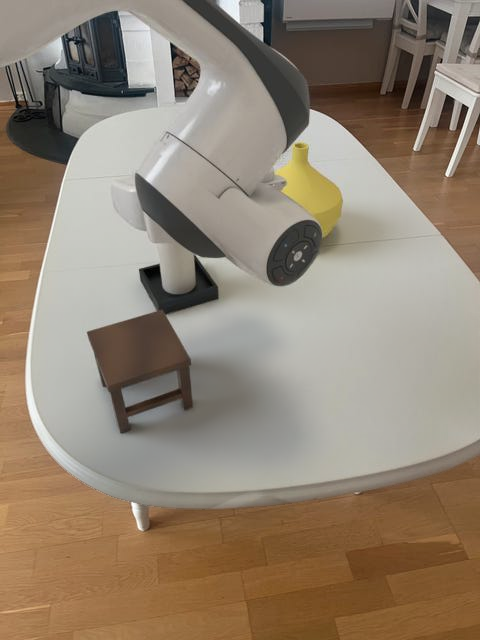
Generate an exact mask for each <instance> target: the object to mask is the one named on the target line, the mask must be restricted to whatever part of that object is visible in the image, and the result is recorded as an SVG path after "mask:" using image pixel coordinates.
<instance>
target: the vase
mask: <svg viewBox="0 0 480 640" xmlns="http://www.w3.org/2000/svg"><path fill="white" fill-rule="evenodd" d="M309 147H310V145H309V144H308V143H306V142H298V141H297V142H293V144H292V148H291V149H292V151H291V159H290V161H289V162H288V163H287V164H286V165H284V166H283V167H280V168H279V169H278V170H276V171H274V174H276V175H279V176H281V177H283V178H285V179H286V181H287V185H286V186H285V187H283V190H281V192H283V193H284V194H286V195H288V196H289V197H290V198H292V199H293V200H295V201H296V202H297V203H299V204H300V205H301V206H302V207H303V208H305V209H306V210H307V211H308V212H309V213H310V214H311V215H312V216H313V217H314V218H315V219H316V220H317V221H318V222H319V224H320V225H321V228H322V233H323V238H322V239H324V238H325V237H326V236H328V235H329V234H330V233H331V231H332V230H333V229H334V227H335V225H336V224H337V222H338V221H339V220H340V218H341V215H342V210H343V204H344V199H343V194H342V192H341V190H340V187H338V186H337V184H335V183H334V182H333V181H332V180H331V179H329V178H328V177H326V176H325V175H323V174H322V173H321V172H320V171H319V170H317V169H316V168H315V167H313V166H312V165H311V163H310V162H309V159H308V157H309V150H310V149H309Z"/></svg>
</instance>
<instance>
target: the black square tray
mask: <svg viewBox="0 0 480 640" xmlns="http://www.w3.org/2000/svg"><path fill="white" fill-rule="evenodd" d="M194 264H195V279H196V285H195V287H194V289H193V290H191V291H190V292H188V293H185V294H171V293H168V292H166V291H165V290H164V289H163V286H162V278H161V270H160V262H159V263H156V264H152V265H149V266H145V267H141V268H138V273H139V280H140V283H141V285H142V286H143V288H144V290H145V292H146V293H147V295H148V297H149V299H150V301H151V303H152V305H153V307H154V308H155V310H156V311H159V310H163V311H164V313H165V315H169V314H171V313H175V312H178V311H182V310H185V309H188V308H192V307H195V306H199V305H202V304H205V303H208V302H211V301H214V300H219V286H218V284H217V283H216V281H215V280H214V279H213V277H212V276H211V274H210V273H209V271H207V269H206V268H205V266H204V265H203V264H202V262H201V261H200V259H199V258H198V257H197V255H196V254H194Z"/></svg>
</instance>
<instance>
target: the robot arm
mask: <svg viewBox="0 0 480 640" xmlns="http://www.w3.org/2000/svg"><path fill="white" fill-rule="evenodd" d="M118 11H119V12H120V11H121V12H123V11H124V12H127V13H129V14H131V15H132V16H134V17H135V18H136V19H138V20H140V21H141V22H142V23H143V24H145V25H146V26H148V27H149V28H150V29H152V30H153V31H154V32H156V33H157V34H158V35H160V36H161V37H162V38H164V39H165V40H167V41H168V42H169V43H171V44H172V45H173V46H175V47H176V48H178V49H179V50H180V51H182V52H183V53H184V54H185V55H187V56H189V57H190V58H191V59H192V60H193V61H195V62H196V63H198V65H199V69H200V73H199V79H198V81H197V84H196V86H195V88H194V89H193V91H192V93H191V94H190V96H189V97H188V98H187V100H186V101H185V102H184V104H183V105H182V107H181V108H180V110H179V111H178V113H177V114H176V116H175V117H174V118H173V120H172V121H171V123H170V124H169V125H168V127H167V128H166V129H165V131H163V132H162V134H161V135H160V136H159V138H158V139H157V141H156V142H155V144H154V145H153V146H152V147H151V149H150V150H149V151H148V153H147V155H146V157H145V158H144V160H143V161H142V163H141V164H140V166H139V167H138V169H137V170H132V176H128V177H124V178H123V177H122V178H117V179H115V180H113V181H112V182H111V183H110V194H111V200H112V205H113V208H114V211H115V212H116V213H117V214H118V216H119V217H121V219H122V220H124V221H125V222H126V223H127V224H129V225H130V226H131V227H133V228H134V229H137V230H139V231H142V232H143V231H144V232H146V234H147V237H148V240H149V241H150V242H152V243H153V244H157V243H158V244H159V243H172V242H178V243H179V244H180V245H181V246H183V247H184V248H186V249H187V250H189V251H190V252H192V253H194V254H195V255H196V256H198V257H200V258H205V259H224V258H225V259H226V260H227V261H229V262H230V263H232V265H234V266H235V267H237V268H239V269H240V270H241V271H243V272H244V273H246V274H248V275H249V276H251V277H253V278H254V279H257V280H258V281H260V282H262V283H264V284H267V285H269V286H270V287H272V286H273V287H277V288H281V287H282V288H283V287H286V286H287V287H288V286H289V285H292V284H294V283H296V282H297V281H298V280H299V279H300V278H302V277H303V276H304V275H305V273H306V272H307V271H308V270H309V268H310V267H311V266H312V265H313V263H314V262H315V260H316V259H317V257H318V255H319V253H320V251H321V247H322V244H323V239H324V238H323V233H322V228H321V225H320V224H319V222H318V221H317V220H316V219H315V218H314V217H313V216H312V215H311V214H310V213H309V212H308V211H307V210H306V209H305V208H303V207H302V206H301V205H300V204H299V203H297V202H296V201H295V200H293V199H292V198H290V197H289V196H288V195H286V194H284V193H283V192H281V190H283V187H285V186H286V185H287V181H286V179H285V178H283V177H281V176H279V175H276V174H274V172H275V169H274V165H275V164H276V163H277V161H278V160H279V158H280V157H281V156H282V155H283V154H284V153H286V152H287V150H288V149H289V148H290V147H291V146H293V144H294V143H295V141H296V140H297V139H298V138H299V137H300V136H301V135H302V134H303V132H304V131H305V130H306V129H307V128H308V127H309V125H310V117H311V115H310V114H311V106H310V105H311V102H310V101H311V100H310V90H309V84H308V81H307V79H306V78H305V76H304V75H303V73H302V72H301V71H300V70H299V69H298V68H297V67H296V66H295V64H294V63H293V62H291V61H290V60H289V59H288V58H287V57H286V56H284V55H283V54H282V53H281V52H279V51H278V50H276V49H275V48H272V47H271V46H269V45H268V44H267V43H265V42H264V41H263V40H261V39H260V38H258V37H257V36H256V35H254V34H253V33H252V32H251V31H249V29H247V28H245V27H244V26H243V25H242V24H241V23H239V22H238V21H237V20H236V19H235V18H233V16H231V15H230V14H229V13H228V12H227V11H225V10H224V9H223V8H222V7H221V6H219V5H218V3H216V2H215V1H214V0H0V69H1V68H4V67H7V66H11V65H13V64H17V63H19V62H21V61H23V60H25V59H27V58H29V57H31V56H34V55H35V54H37V53H39V52H40V51H42V50H43V49H44V48H46V47H48V46H49V45H51V44H52V43H54V42H55V41H57V40H58V39H60V38H61V37H63V36H65V35H66V34H67V33H69V32H71V31H72V30H73V29H75V28H77V27H79V26H81V25H82V24H85V23H86V22H88V21H90V20H92V19H94V18H96V17H99V16H102V15H105V14H107V13H111V12H118Z"/></svg>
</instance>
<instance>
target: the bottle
mask: <svg viewBox="0 0 480 640" xmlns="http://www.w3.org/2000/svg"><path fill="white" fill-rule="evenodd" d="M156 245H157V254H158V261H159V263H160V270H161V278H162V286H163V289H164V290H165V291H166V292H168V293H171V294H185V293H188V292H190V291H191V290H193V289H194V287H195V285H196V279H195V264H194V253H192V252H190V251H189V250H187V249H186V248H184V247H183V246H181V245H180V244H179V243H178V242H172V243H159V244H158V243H156Z"/></svg>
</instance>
